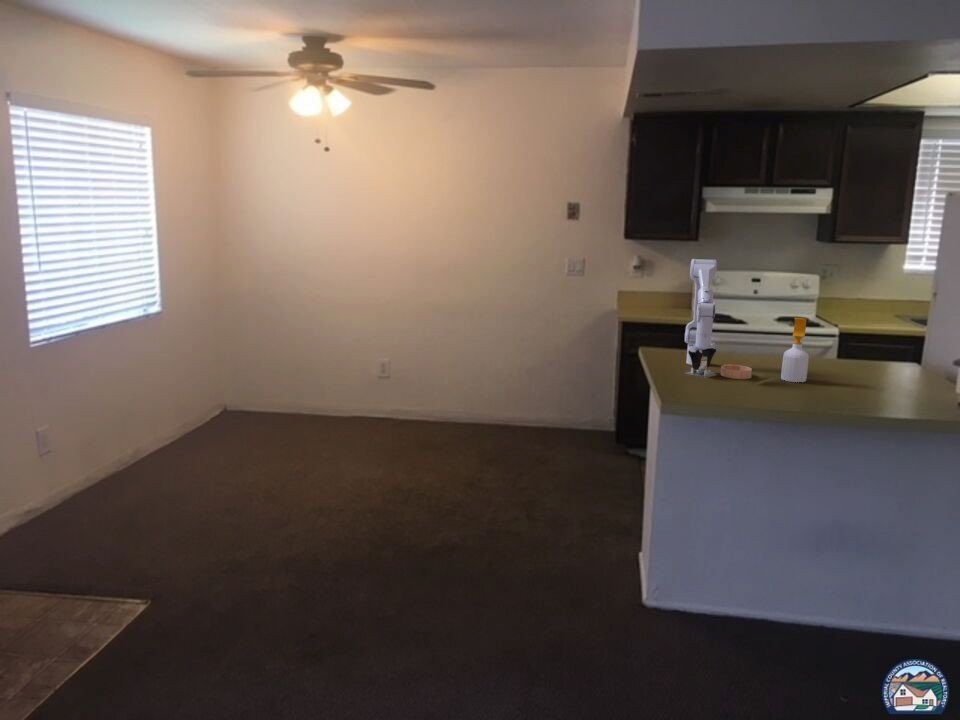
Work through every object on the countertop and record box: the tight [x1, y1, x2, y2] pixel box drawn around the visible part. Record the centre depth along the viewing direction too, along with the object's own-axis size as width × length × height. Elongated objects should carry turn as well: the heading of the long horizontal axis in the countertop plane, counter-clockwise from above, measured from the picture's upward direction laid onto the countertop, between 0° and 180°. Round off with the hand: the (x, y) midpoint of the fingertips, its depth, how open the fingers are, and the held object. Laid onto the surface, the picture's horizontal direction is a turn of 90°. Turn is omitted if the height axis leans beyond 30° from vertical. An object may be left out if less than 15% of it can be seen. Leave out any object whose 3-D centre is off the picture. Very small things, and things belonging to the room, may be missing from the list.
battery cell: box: [695, 356, 707, 375], centre depth 282 cm, size 4×4×7 cm
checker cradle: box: [684, 367, 717, 379], centre depth 283 cm, size 8×10×3 cm
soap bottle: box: [780, 317, 810, 384], centre depth 278 cm, size 9×9×25 cm
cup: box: [720, 364, 753, 380], centre depth 281 cm, size 11×11×4 cm
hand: (700, 367), depth 282 cm, fingers open, 7 cm apart
